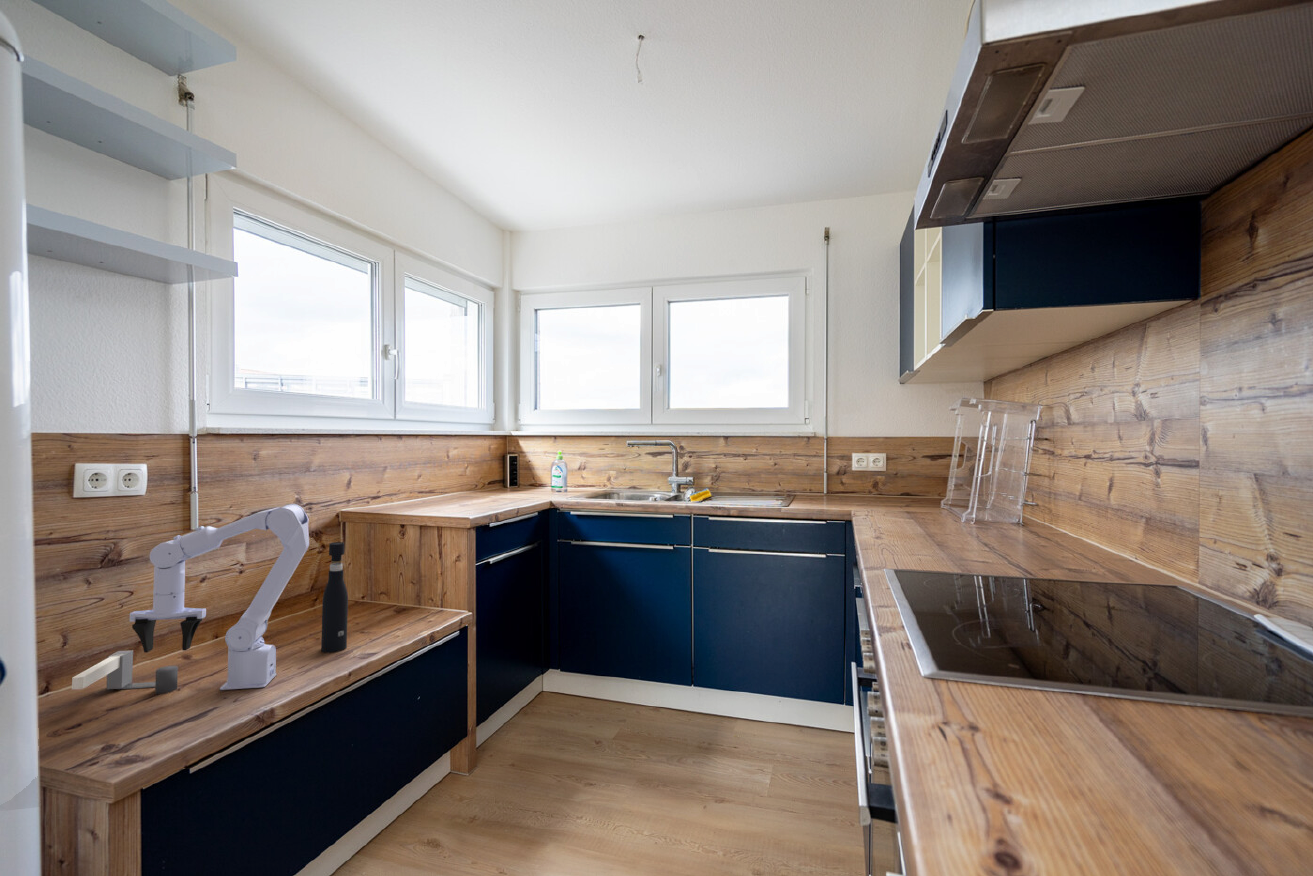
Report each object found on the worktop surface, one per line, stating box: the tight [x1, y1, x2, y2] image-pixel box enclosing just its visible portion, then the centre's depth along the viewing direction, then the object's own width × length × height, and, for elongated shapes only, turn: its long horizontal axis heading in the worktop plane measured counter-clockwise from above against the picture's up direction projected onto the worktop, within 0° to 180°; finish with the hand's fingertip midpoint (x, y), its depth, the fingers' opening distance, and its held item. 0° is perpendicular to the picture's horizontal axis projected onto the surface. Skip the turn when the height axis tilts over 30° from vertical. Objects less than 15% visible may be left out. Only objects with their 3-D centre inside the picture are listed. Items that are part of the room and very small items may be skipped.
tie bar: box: [71, 649, 134, 690], centre depth 135 cm, size 3×16×8 cm, turn 14°
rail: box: [116, 681, 156, 690], centre depth 142 cm, size 11×2×1 cm, turn 104°
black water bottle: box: [320, 541, 349, 653], centre depth 170 cm, size 6×6×30 cm
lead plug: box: [154, 665, 179, 695], centre depth 140 cm, size 4×4×5 cm
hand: (167, 650), depth 140 cm, fingers open, 7 cm apart
